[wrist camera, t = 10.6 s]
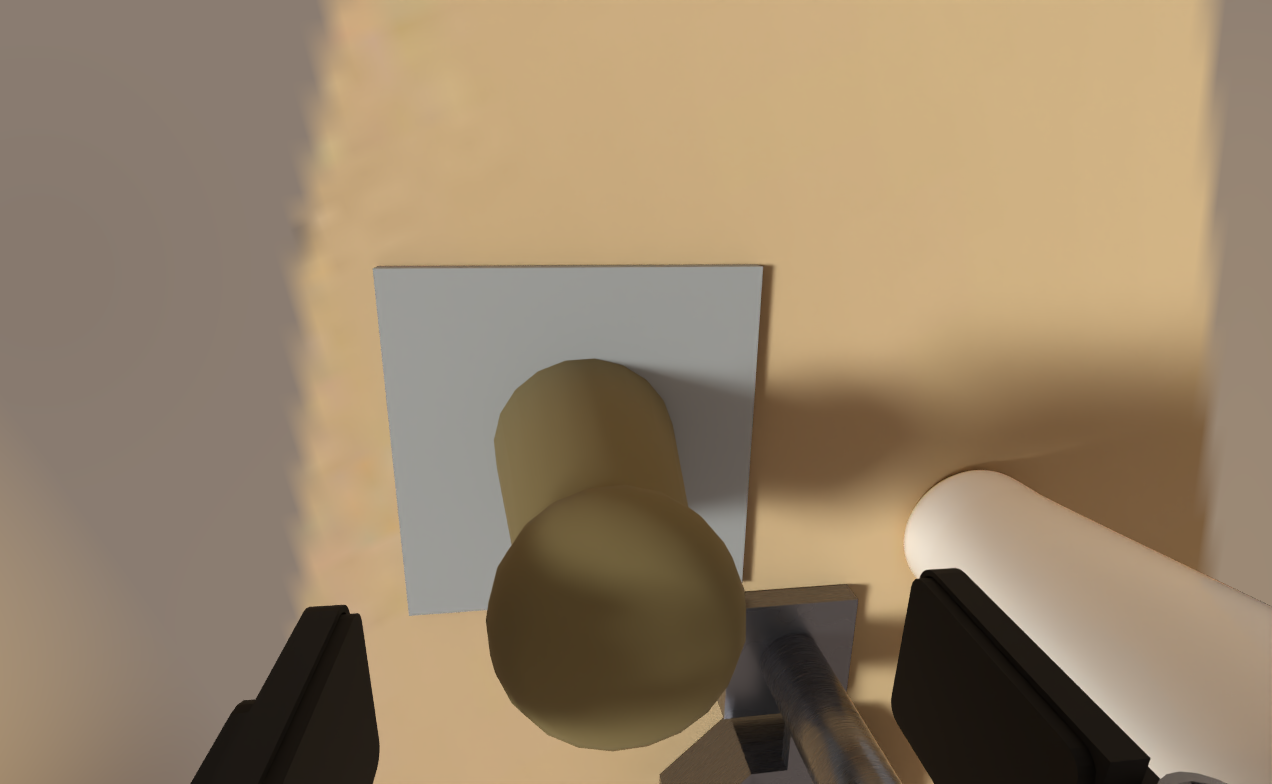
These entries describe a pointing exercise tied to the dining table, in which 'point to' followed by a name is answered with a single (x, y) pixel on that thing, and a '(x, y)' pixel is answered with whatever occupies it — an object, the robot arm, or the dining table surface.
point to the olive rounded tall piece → (606, 565)
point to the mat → (529, 342)
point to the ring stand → (789, 701)
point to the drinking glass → (1115, 621)
